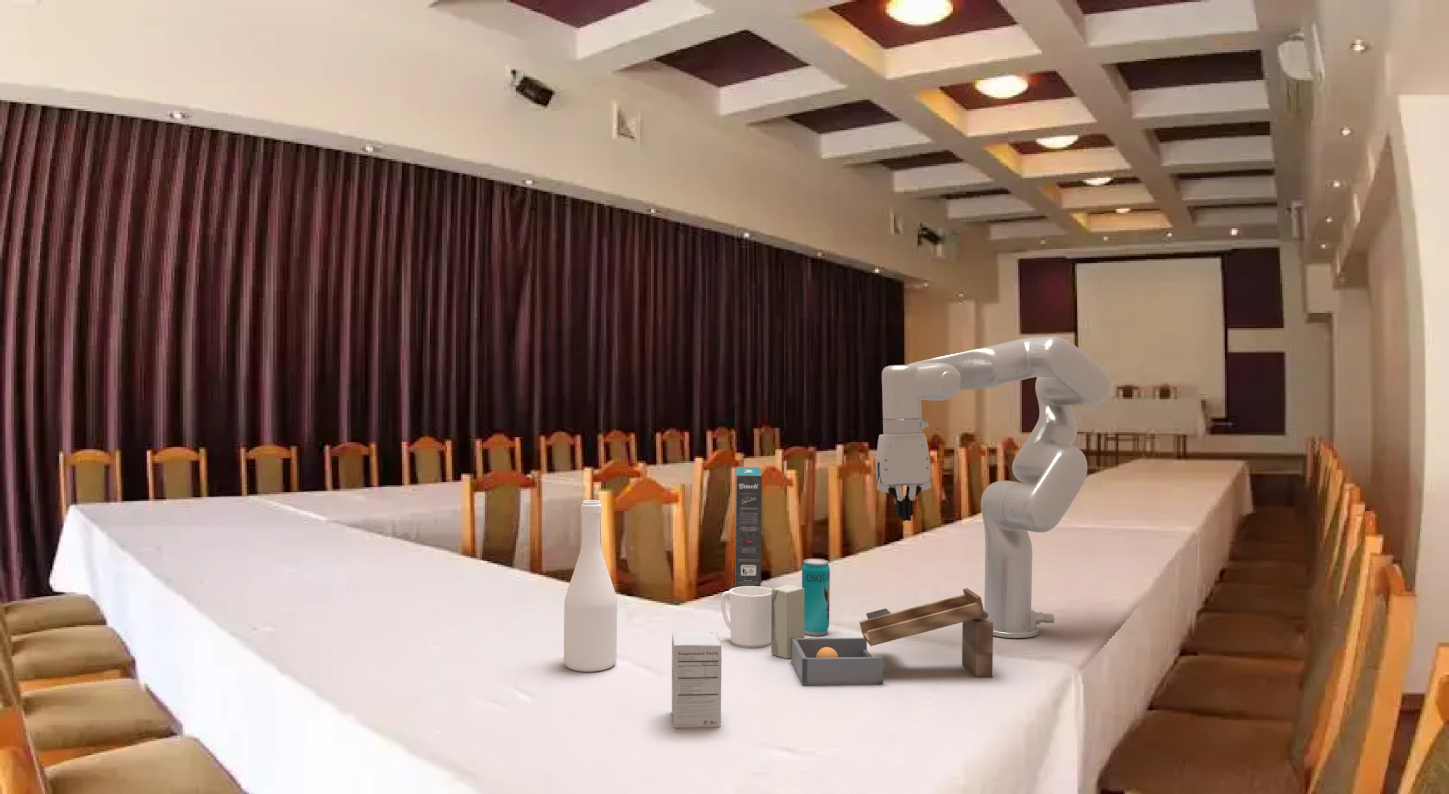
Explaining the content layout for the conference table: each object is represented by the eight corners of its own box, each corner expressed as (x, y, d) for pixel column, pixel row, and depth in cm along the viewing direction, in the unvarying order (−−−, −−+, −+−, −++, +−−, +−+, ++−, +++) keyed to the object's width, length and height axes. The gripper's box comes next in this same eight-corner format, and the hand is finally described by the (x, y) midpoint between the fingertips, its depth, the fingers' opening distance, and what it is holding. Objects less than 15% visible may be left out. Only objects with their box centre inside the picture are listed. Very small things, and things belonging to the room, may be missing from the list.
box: (787, 649, 180) (788, 583, 180) (805, 654, 177) (806, 587, 176) (769, 655, 176) (770, 587, 176) (786, 660, 173) (787, 591, 173)
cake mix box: (760, 602, 218) (762, 475, 218) (735, 602, 219) (736, 475, 218) (758, 582, 240) (759, 467, 240) (735, 582, 240) (736, 467, 240)
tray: (865, 661, 172) (865, 637, 172) (882, 684, 159) (883, 658, 159) (791, 662, 171) (791, 638, 171) (802, 685, 158) (802, 659, 158)
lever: (959, 597, 179) (955, 577, 179) (988, 618, 164) (984, 596, 164) (853, 625, 178) (848, 605, 178) (872, 648, 162) (867, 626, 162)
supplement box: (670, 711, 145) (671, 631, 145) (717, 710, 146) (718, 630, 146) (672, 729, 138) (672, 644, 138) (721, 727, 139) (722, 644, 138)
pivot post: (976, 663, 172) (977, 596, 172) (992, 677, 164) (993, 607, 164) (960, 663, 172) (961, 596, 172) (975, 677, 164) (976, 607, 163)
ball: (838, 647, 167) (818, 641, 167) (843, 654, 163) (822, 648, 163) (832, 669, 167) (811, 662, 167) (836, 676, 163) (815, 669, 163)
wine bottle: (573, 676, 162) (574, 505, 162) (557, 661, 171) (558, 499, 170) (624, 669, 166) (625, 502, 166) (605, 655, 175) (607, 496, 174)
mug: (778, 639, 187) (779, 588, 187) (766, 651, 179) (766, 597, 179) (727, 633, 191) (727, 584, 191) (712, 645, 182) (713, 593, 182)
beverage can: (827, 637, 188) (828, 564, 188) (799, 635, 190) (800, 563, 189) (830, 630, 194) (831, 559, 194) (803, 628, 195) (803, 557, 195)
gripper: (933, 424, 187) (935, 515, 187) (860, 427, 185) (863, 518, 186) (945, 427, 179) (947, 521, 180) (870, 430, 178) (872, 525, 179)
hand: (904, 519), depth 183 cm, fingers closed
